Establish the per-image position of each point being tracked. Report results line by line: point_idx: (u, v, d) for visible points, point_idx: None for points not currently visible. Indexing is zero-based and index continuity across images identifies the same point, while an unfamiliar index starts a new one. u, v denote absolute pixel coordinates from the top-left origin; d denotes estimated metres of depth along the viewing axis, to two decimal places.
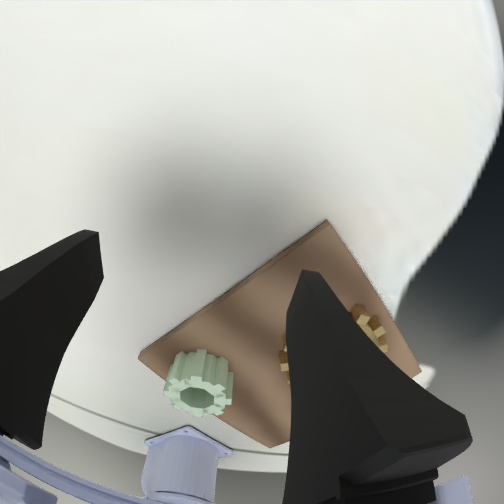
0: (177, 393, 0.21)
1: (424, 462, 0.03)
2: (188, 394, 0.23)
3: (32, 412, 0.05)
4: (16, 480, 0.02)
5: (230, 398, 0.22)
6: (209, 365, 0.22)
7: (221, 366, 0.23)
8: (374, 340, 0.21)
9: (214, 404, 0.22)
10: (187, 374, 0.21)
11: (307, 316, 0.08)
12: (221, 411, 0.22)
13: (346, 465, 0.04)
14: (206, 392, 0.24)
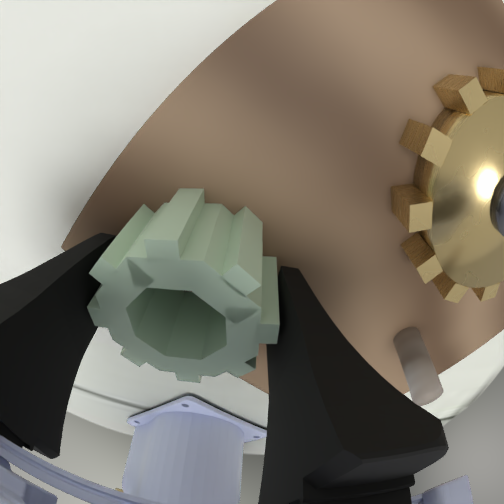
0: (121, 314, 0.08)
1: (392, 469, 0.03)
2: (161, 322, 0.09)
3: (51, 421, 0.05)
4: (16, 480, 0.02)
5: (275, 322, 0.08)
6: (211, 222, 0.08)
7: (244, 224, 0.08)
8: None
9: (228, 345, 0.08)
10: (140, 245, 0.07)
11: (284, 312, 0.08)
12: (249, 365, 0.09)
13: (309, 467, 0.04)
14: (208, 316, 0.10)
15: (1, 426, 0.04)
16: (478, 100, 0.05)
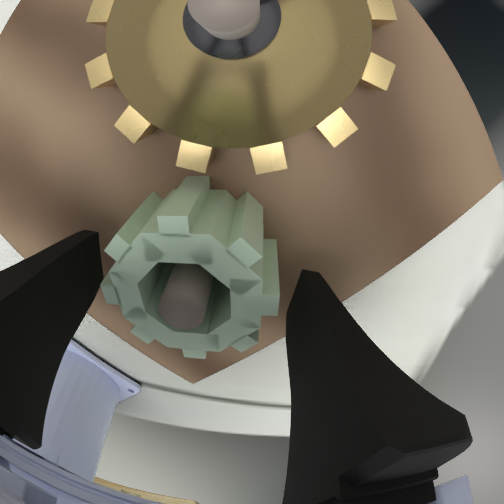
0: (133, 290, 0.08)
1: (424, 462, 0.03)
2: None
3: (32, 412, 0.05)
4: (16, 480, 0.02)
5: (276, 293, 0.08)
6: (216, 204, 0.09)
7: (246, 207, 0.09)
8: None
9: (232, 318, 0.09)
10: (152, 224, 0.08)
11: (307, 316, 0.08)
12: (252, 339, 0.09)
13: (346, 465, 0.04)
14: (214, 296, 0.11)
15: None
16: None
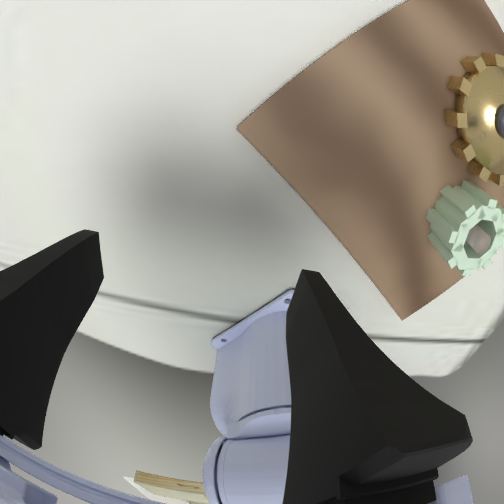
0: (465, 234, 0.14)
1: (424, 462, 0.03)
2: None
3: (32, 412, 0.05)
4: (16, 480, 0.02)
5: None
6: None
7: None
8: None
9: (491, 248, 0.15)
10: (478, 202, 0.14)
11: (307, 316, 0.08)
12: (491, 260, 0.15)
13: (346, 465, 0.04)
14: (465, 243, 0.17)
15: None
16: (482, 67, 0.10)
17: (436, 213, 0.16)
